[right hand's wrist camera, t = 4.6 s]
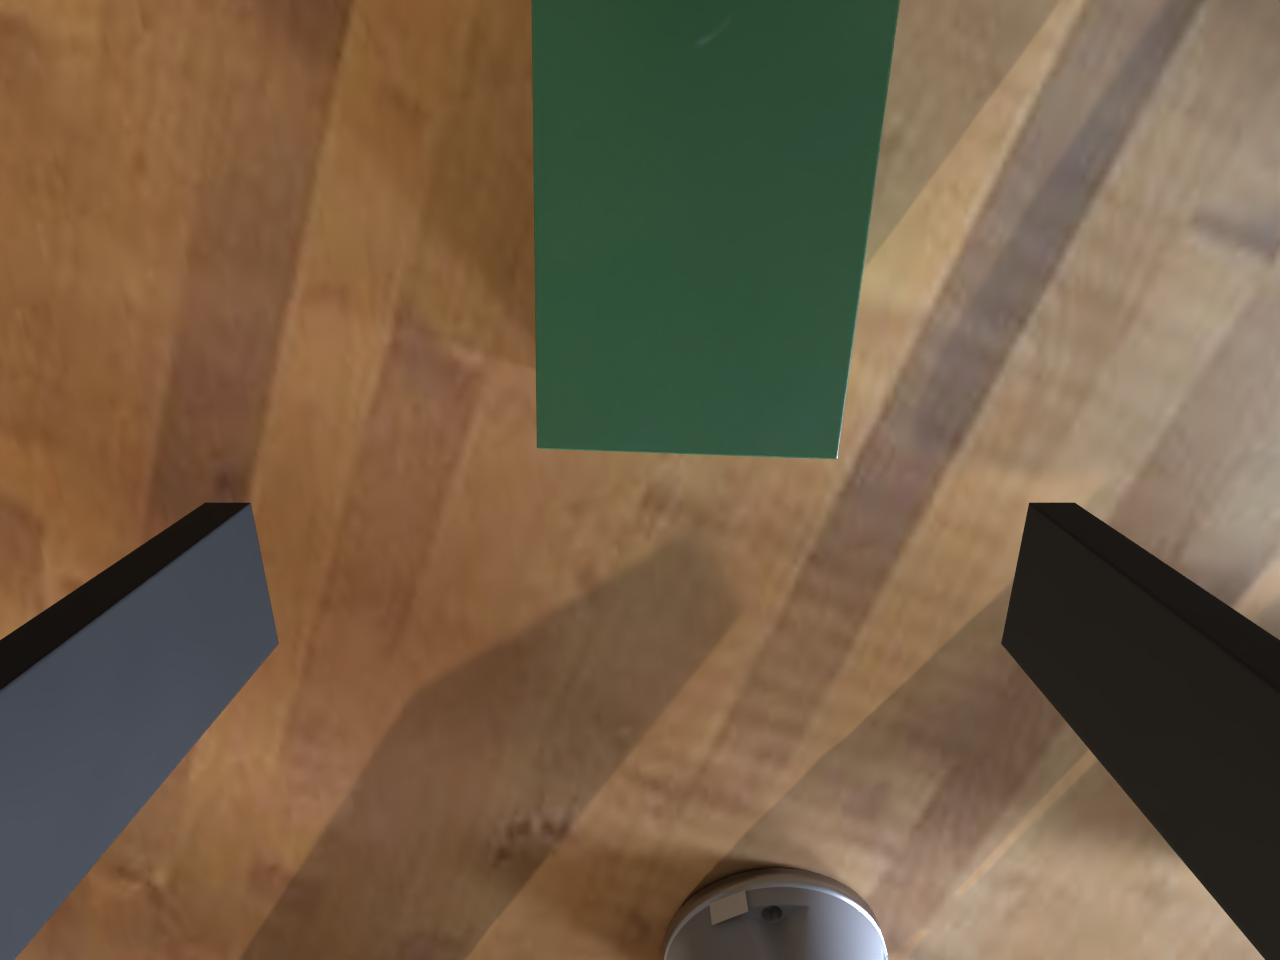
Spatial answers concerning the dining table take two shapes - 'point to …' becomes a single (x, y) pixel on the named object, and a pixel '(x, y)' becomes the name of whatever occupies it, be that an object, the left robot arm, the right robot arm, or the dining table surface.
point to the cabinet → (702, 219)
